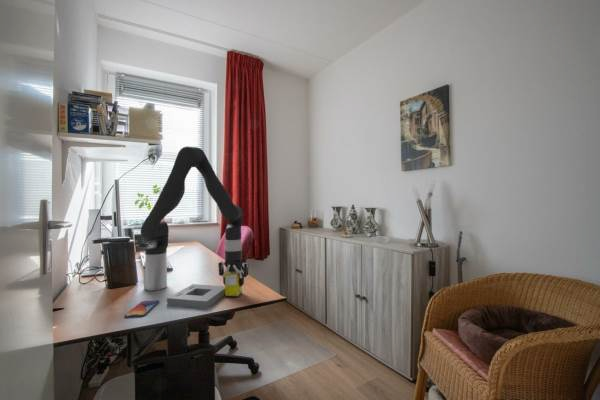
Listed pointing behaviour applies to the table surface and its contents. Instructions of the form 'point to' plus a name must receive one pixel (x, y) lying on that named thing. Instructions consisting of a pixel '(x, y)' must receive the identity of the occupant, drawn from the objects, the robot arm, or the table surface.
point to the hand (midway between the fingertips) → (233, 285)
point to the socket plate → (191, 299)
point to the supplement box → (232, 284)
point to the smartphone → (141, 309)
